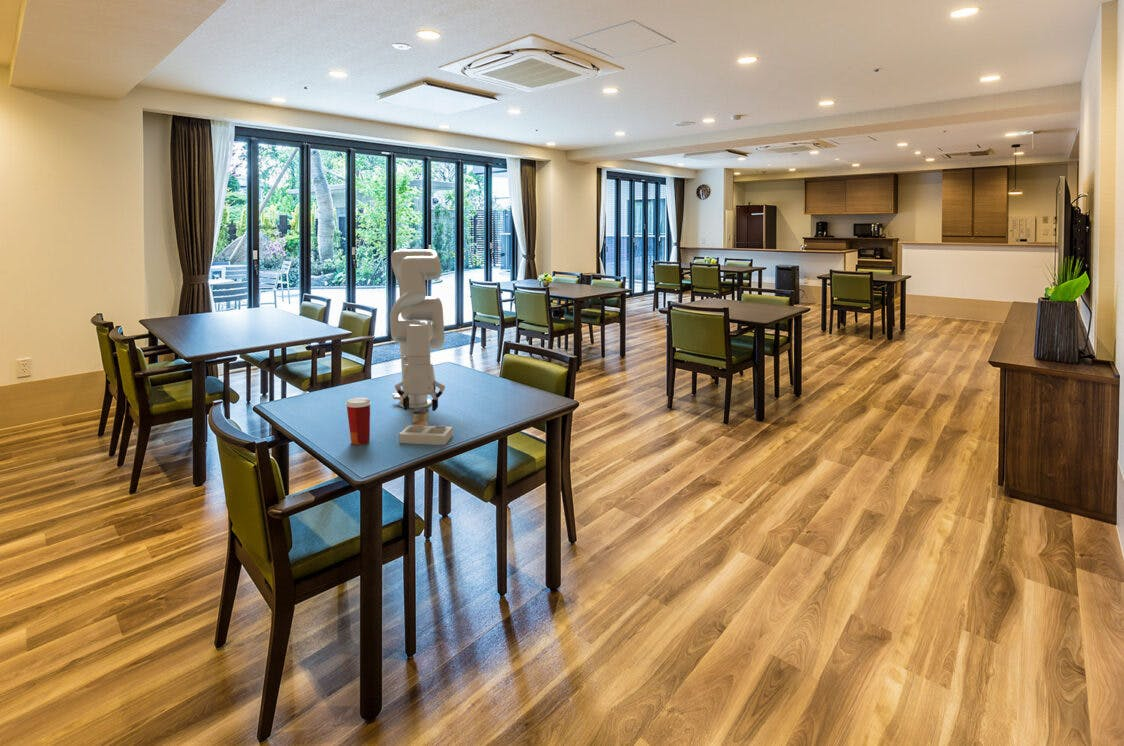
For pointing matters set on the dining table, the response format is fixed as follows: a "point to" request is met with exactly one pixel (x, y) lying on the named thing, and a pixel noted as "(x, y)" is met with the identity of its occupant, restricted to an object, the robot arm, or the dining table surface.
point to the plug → (420, 416)
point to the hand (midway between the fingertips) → (420, 409)
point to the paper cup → (359, 420)
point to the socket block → (426, 434)
